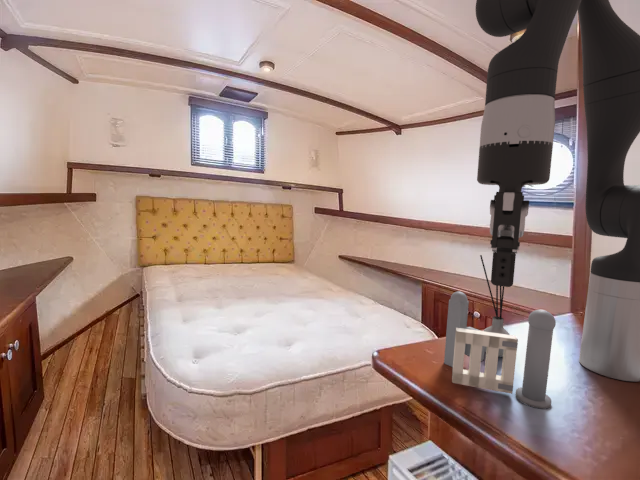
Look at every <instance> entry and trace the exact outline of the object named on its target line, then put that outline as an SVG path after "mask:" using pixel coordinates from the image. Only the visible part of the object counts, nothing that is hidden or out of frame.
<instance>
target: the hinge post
mask: <svg viewBox="0 0 640 480" xmlns="http://www.w3.org/2000/svg"><path fill="white" fill-rule="evenodd" d="M527 321H528V333H527V341H526V348H525V349H526V350H525V351H526V352H525V358H524V359H525V360H524V368H523V369H524V370H523V379H522V387H518V388H516V389H515V395H514V396H515V397H516V399H517V400H518V401H519V402H521V403H522V404H525V405H526V406H529V407H532V408H534V409H542V410H545V409H549V408H551V406H552V402H553V401H552V399H551V397H550V396H549V395H548V394H546V393H547V386H548V385H547V384H548V377H549V369H550V361H551V352H552V343H553V342H552V341H553V336H554V335H553V334H554V329H555V327H556V323H557V322H556V318H555V317H554V315H553V314H552V312H550V311H547V310H546V309H535V310H533V311H531V312H530V314H529V315H528V318H527Z"/></svg>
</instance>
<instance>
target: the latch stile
mask: <svg viewBox="0 0 640 480" xmlns="http://www.w3.org/2000/svg"><path fill="white" fill-rule="evenodd" d="M469 303H470V301H469V300H468V297H467V294H466V293H464V292H462V291H460V290H459V291H458V290H457V291H455V292H453V293H452V294H451V295H450V299H449V300H448V307H447V320H446V331H445V332H446V334H445V345H444V357H443V358H444V359H443V364H444V365H447V366H449V367H450V368H453V358H454V346H455V334H456V328H463V329H470V330H478V331H482V330H481V329H477V328H474V327H472V326H468V314H469ZM470 349H471V344H465V354H464V356H468V357H470ZM485 354H486V352H485V346H482V354H481V362H482V361H484V360H485Z"/></svg>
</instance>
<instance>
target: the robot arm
mask: <svg viewBox="0 0 640 480" xmlns="http://www.w3.org/2000/svg"><path fill="white" fill-rule="evenodd" d="M576 14H578V20H579V21H578V22H579V28H580V29H579V30H580V40H581V56H582V57H581V59H582V61H581V62H582V88H583V90H582V91H583V103H584V113H585V121H586V125H585V127H586V143H587V144H586V145H587V146H586V147H587V149H586V150H587V168H586V170H587V171H586V185H585V186H586V187H585V218H586V223H587V224H588V226H589V228H590V230H591V231H592V232H593V233H594V234H597V235H599V236H603V237H611V238H622V239H623V238H624V239H626V242H625V244H624V247H623V248H622V249H621V250H619V251H618V252H615V253H613V254H607V255H606V254H605V255H600V256H596V257H594V258H593V259H592V261H591V265H590V271H589V279H588V280H589V281H588V288H587V296H586V303H585V304H586V305H585V313H584V319H583V326H582V336H581V342H580V350H579V359H578V361H579V363H580V364H581V365H582V366H583V367H584V368H586V369H587V370H590V371H591V372H594V373H596V374H599V375H601V376H605V377H607V378H611V379H614V380H619V381H623V382H640V184H628V185H627V184H626V185H625V181H624V175H625V174H624V173H625V163H626V158H627V155H628V153H629V151H630V148H631V146H632V145H633V143H634V141H635V140H636V138H637V137H638V136H639V134H640V34H639V33H637V32H636V31H635V30H634V29H632V27H630V26H629V25H627V24H626V23H625V22H624V21H623V20H622V19H621V18H620V16H618V14H617V13H616V12H615V10H614V9H613V6H612V5H611V2H610V0H476V2H475V16H476V18H475V19H476V20H477V24H478V25H479V27H480V28H481V30H482V31H483V32H484V33H486V34H488V35H489V36H492V37H495V38H502V37H508V36H510V35H511V36H512V35H514V34H516V33H518V32H520V31H524V32H523V34H522V35H521V36H520V37H519V38H517V39H516V40H515V41H514V42H512V43H510V44H509V45H507V46H506V47H504V48H503V49H501V50H500V51H498V52H497V53H496V54H494V56H493V57H492V58H491V60H490V61H489V63H488V67H487V76H486V89H485V98H484V100H485V103H484V111H483V115H482V120H481V124H480V137H479V148H478V159H477V160H478V161H477V162H478V164H477V176H476V181H477V182H478V184H480V185H484V186H485V185H488V186H498V191H496V192H495V194H494V196H493V199H490V205H489V214H490V222H489V234H490V235H491V236H492V237H491V239H490V242H489V243H490V244H489V245H490V249H491V252H492V263H491V276H490V283H491V284H492V285H493V286H498V287H500V286H501V287H503V286H504V288H505V287H506V288H511V287H512V286H513V285H514V281H515V280H514V277H515V268H516V266H515V265H516V256H517V254H518V251H520V245H521V244H520V243H521V242H520V238H522V237H523V236H524V235H525V226H526V217H527V216H528V215H529V208H530V200H528V199H526V200H525V195H523V194H524V192H523V191H522V190H523V187H525V186H534V185H535V186H536V185H537V186H538V185H545V184H547V183H548V182H549V180H550V176H551V168H552V167H551V166H552V158H553V157H552V156H553V148H554V140H555V139H554V136H555V129H556V110H555V109H556V108H555V102H556V101H555V99H556V91H557V80H558V72H559V62H560V58H561V55H562V52H563V50H564V47H565V43H566V41H567V38H568V36H569V32H570V30H571V27H572V25H573V22H574V20H575V18H576Z"/></svg>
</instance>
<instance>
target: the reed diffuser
mask: <svg viewBox="0 0 640 480" xmlns="http://www.w3.org/2000/svg"><path fill="white" fill-rule="evenodd" d="M479 257H480V260H481V263H482V268H483V272H484V275H485V279H486V283H487V287H488V291H489V295H490V298H491V302H492V306H493V310H494V313H495V315H493V316H492V322H491V325H490V326H488V327H486V328H484V330H483V331H485V332H492V333H500V334H507V335H511V334H510V332H508V330H507V329H505V328H504V320H505V319H504V317H503V316H502V315H503V314H502V312H503V305H504V294H505V287H504V286H496V285H495V286H496V287H495V288H496V289H495V296H496V297H495V300H496V301H494V296H493V293H492V290H491V289H492V288H491V285H490V282H489V278H488V275H487V271H486V266H485V263H484V259H483V256H482V254H480V255H479ZM498 290H499V291H498ZM495 302H496V303H495ZM486 350H487V347H485V353H486ZM503 352H504V349H499V352H498V357H503Z"/></svg>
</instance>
